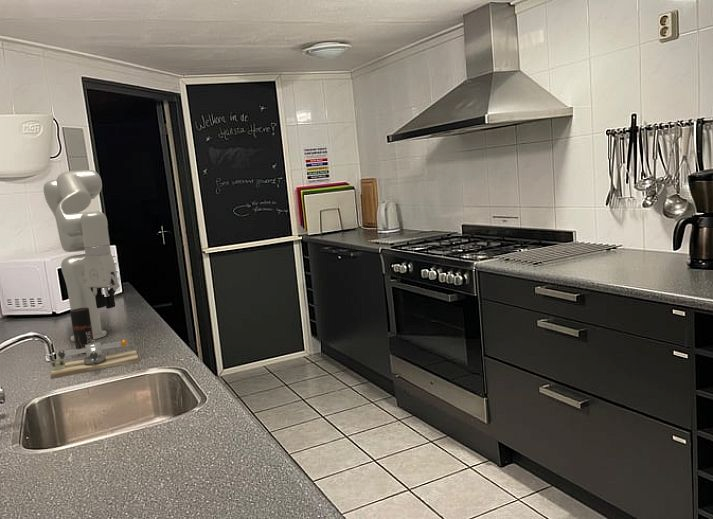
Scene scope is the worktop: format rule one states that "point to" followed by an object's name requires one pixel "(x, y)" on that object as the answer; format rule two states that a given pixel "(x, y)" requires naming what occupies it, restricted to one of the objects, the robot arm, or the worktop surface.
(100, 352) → the capstan
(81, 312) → the deodorant
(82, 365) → the board
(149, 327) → the worktop surface
